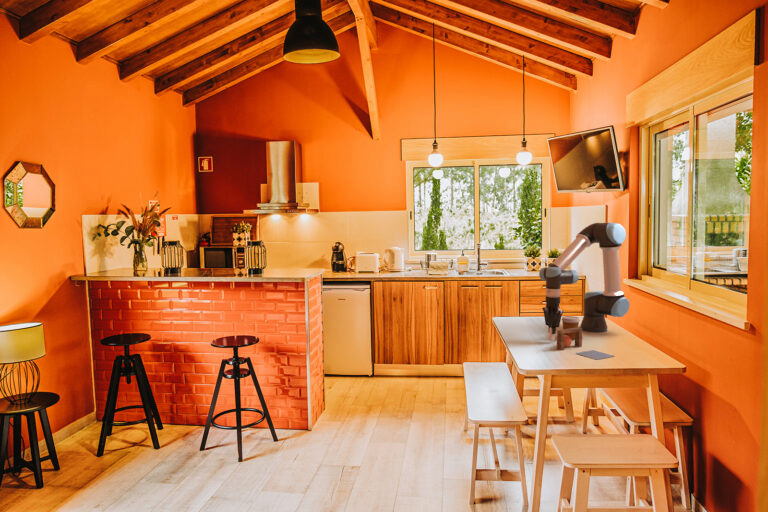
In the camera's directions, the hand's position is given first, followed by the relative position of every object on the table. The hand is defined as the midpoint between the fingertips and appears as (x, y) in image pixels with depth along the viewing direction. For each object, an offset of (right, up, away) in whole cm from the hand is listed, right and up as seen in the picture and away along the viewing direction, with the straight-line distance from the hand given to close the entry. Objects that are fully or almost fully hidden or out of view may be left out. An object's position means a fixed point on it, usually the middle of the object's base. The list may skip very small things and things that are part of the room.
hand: (552, 339), depth 279 cm
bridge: (+6, -3, -10) cm, 12 cm away
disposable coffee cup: (+13, -1, +9) cm, 16 cm away
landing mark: (+13, -4, -25) cm, 28 cm away
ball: (+4, 0, -8) cm, 9 cm away
